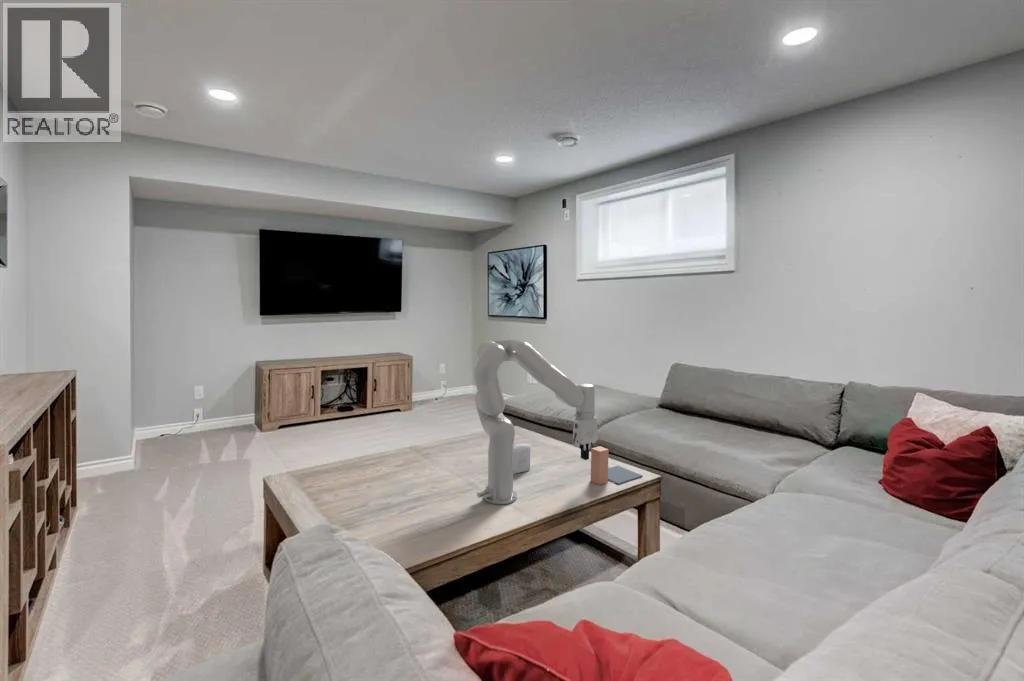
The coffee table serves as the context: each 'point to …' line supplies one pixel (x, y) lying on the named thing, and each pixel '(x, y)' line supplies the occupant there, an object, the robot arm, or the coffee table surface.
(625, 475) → the mat
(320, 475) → the coffee table surface
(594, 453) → the terracotta block
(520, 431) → the coffee table surface
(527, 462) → the photo printer
